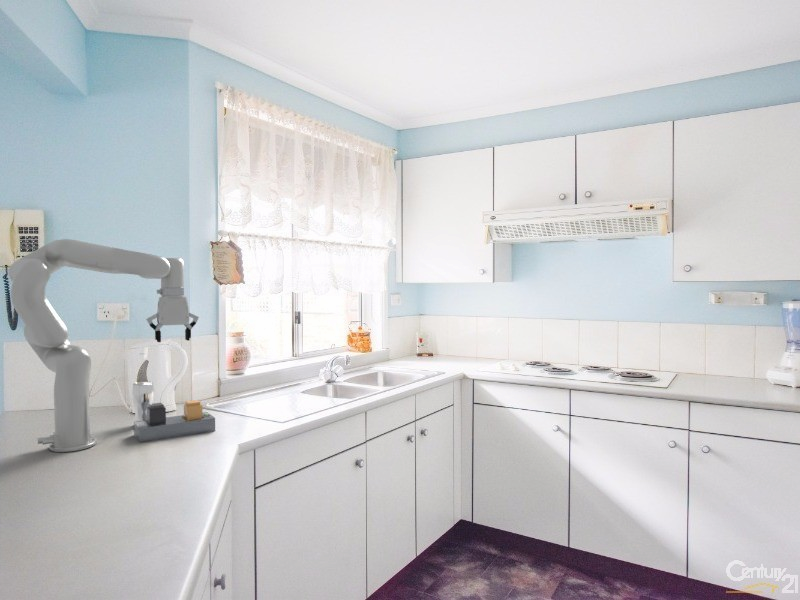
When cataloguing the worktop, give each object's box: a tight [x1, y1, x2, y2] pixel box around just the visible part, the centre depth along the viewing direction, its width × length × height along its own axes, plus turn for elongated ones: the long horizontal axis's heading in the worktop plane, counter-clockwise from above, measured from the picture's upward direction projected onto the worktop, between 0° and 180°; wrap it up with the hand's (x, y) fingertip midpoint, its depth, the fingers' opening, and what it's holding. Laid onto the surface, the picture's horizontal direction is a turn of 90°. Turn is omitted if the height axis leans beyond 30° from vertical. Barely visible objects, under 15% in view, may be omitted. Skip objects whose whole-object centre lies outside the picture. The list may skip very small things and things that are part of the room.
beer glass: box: [131, 381, 155, 422], centre depth 200 cm, size 7×7×15 cm
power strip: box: [133, 402, 216, 443], centre depth 190 cm, size 24×10×10 cm, turn 125°
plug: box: [183, 399, 203, 421], centre depth 193 cm, size 5×5×10 cm
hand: (173, 341), depth 198 cm, fingers open, 9 cm apart
